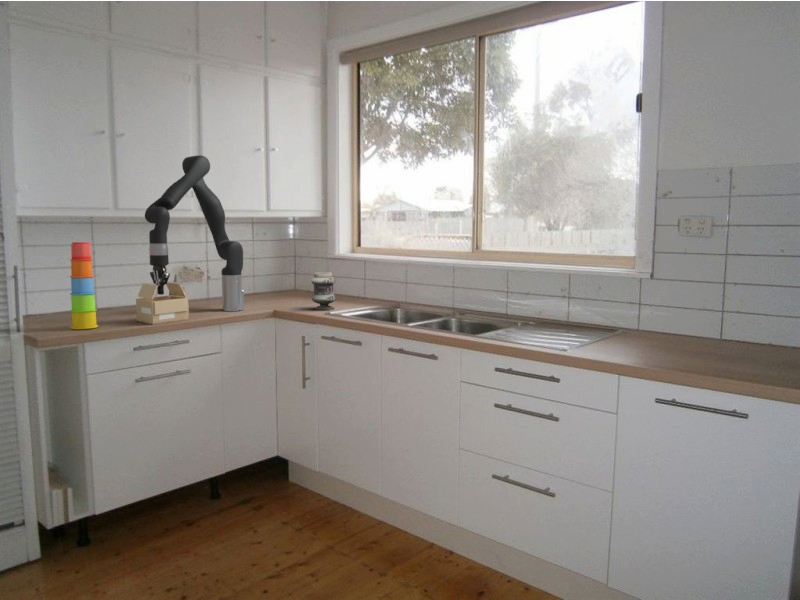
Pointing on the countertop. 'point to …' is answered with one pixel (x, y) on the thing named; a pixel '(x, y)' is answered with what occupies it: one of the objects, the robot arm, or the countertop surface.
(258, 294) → the countertop surface
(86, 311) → the stacking cups
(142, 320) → the carton
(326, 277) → the apothecary jar
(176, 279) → the squeeze bottle
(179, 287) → the flap
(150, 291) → the flap
